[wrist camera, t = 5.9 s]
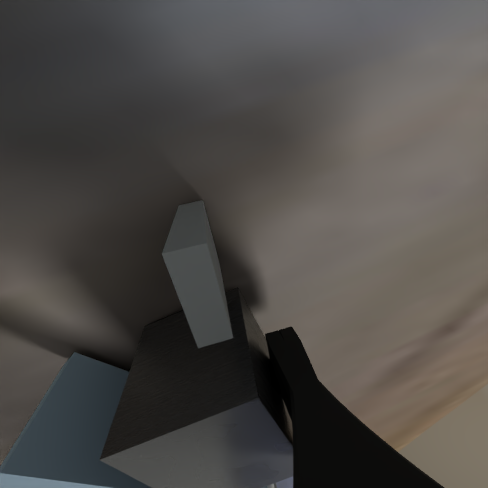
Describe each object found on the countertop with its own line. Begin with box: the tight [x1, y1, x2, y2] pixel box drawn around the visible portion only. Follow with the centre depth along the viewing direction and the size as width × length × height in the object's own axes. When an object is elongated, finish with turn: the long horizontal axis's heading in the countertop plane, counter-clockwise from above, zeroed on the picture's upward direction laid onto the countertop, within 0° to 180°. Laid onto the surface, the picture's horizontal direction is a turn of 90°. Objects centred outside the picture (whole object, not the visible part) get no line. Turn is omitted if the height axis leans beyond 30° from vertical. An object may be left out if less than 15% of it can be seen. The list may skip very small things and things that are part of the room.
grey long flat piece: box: [162, 200, 277, 488], centre depth 11 cm, size 19×1×5 cm, turn 10°
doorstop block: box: [100, 288, 293, 488], centre depth 10 cm, size 6×5×5 cm
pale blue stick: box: [0, 352, 267, 488], centre depth 11 cm, size 12×1×4 cm, turn 47°
